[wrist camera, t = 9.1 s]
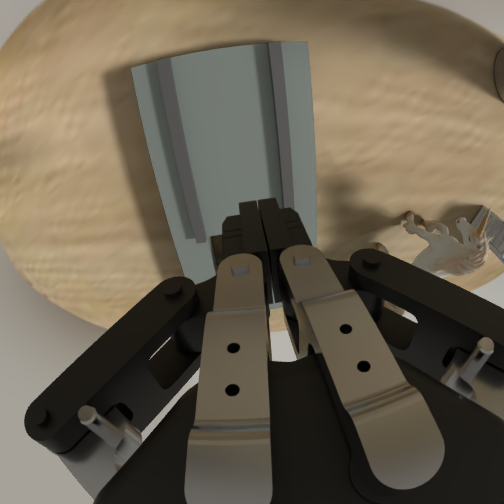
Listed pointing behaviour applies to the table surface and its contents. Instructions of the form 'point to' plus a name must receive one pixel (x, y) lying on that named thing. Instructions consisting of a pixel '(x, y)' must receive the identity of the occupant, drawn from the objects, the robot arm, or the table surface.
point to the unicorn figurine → (447, 249)
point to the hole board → (228, 140)
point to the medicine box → (492, 231)
